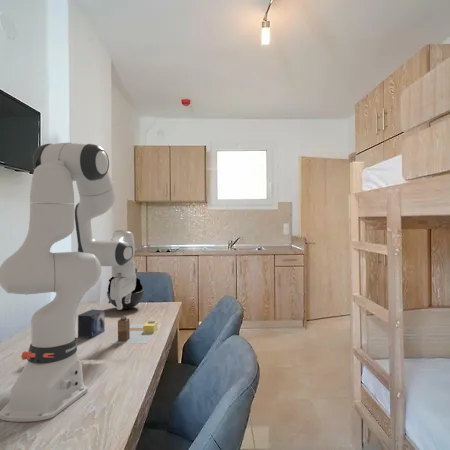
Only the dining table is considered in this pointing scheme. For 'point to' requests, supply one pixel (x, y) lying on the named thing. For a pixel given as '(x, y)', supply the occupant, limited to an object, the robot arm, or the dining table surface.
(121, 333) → the wooden block with knob
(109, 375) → the dining table surface
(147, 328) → the block
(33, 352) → the robot arm
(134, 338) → the board
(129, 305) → the coal bowl
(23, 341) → the dining table surface
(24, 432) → the dining table surface
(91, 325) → the small box
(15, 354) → the dining table surface
